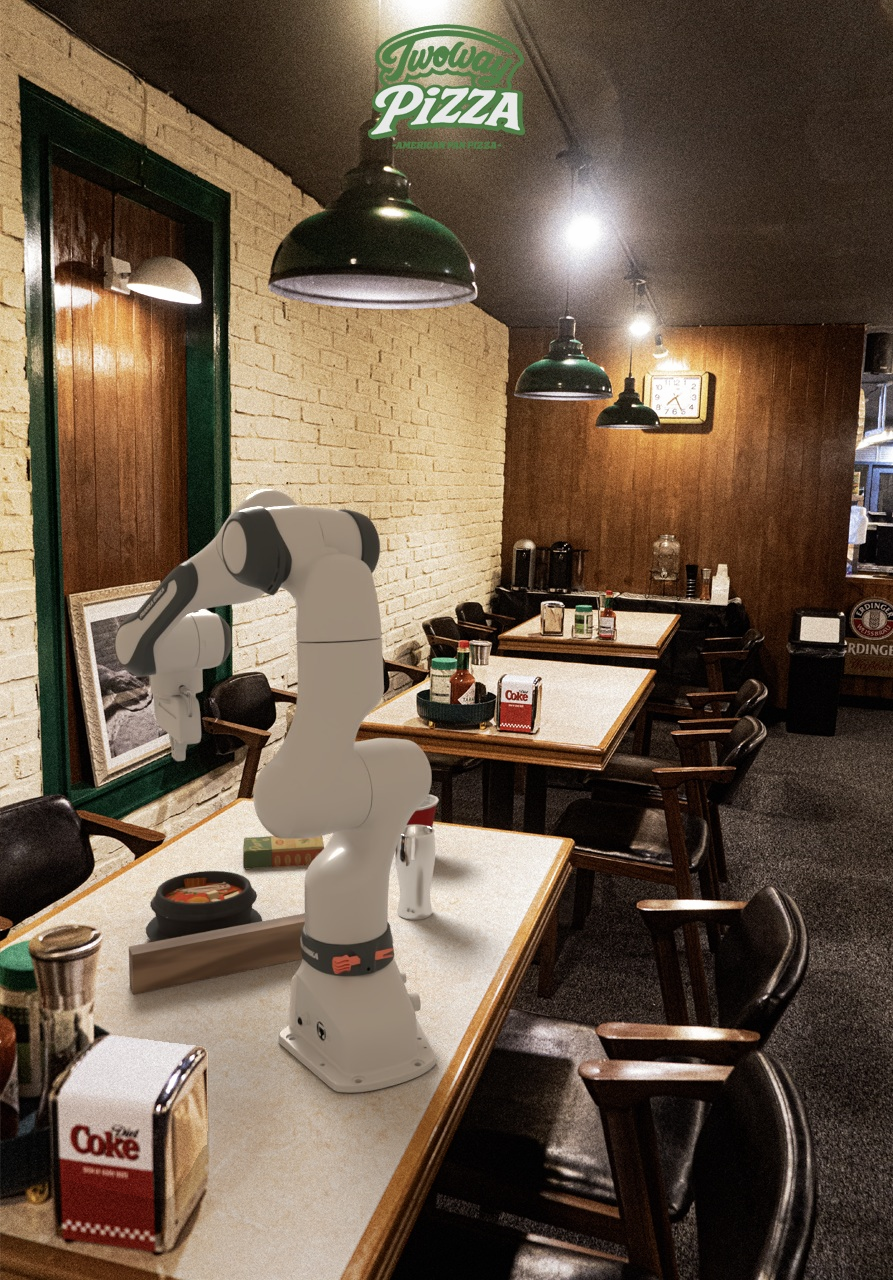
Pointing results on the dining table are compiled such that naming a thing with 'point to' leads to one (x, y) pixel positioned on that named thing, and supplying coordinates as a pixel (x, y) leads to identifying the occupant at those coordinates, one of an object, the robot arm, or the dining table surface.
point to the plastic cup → (425, 812)
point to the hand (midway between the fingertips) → (178, 759)
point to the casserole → (201, 904)
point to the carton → (280, 851)
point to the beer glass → (415, 871)
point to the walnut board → (214, 953)
